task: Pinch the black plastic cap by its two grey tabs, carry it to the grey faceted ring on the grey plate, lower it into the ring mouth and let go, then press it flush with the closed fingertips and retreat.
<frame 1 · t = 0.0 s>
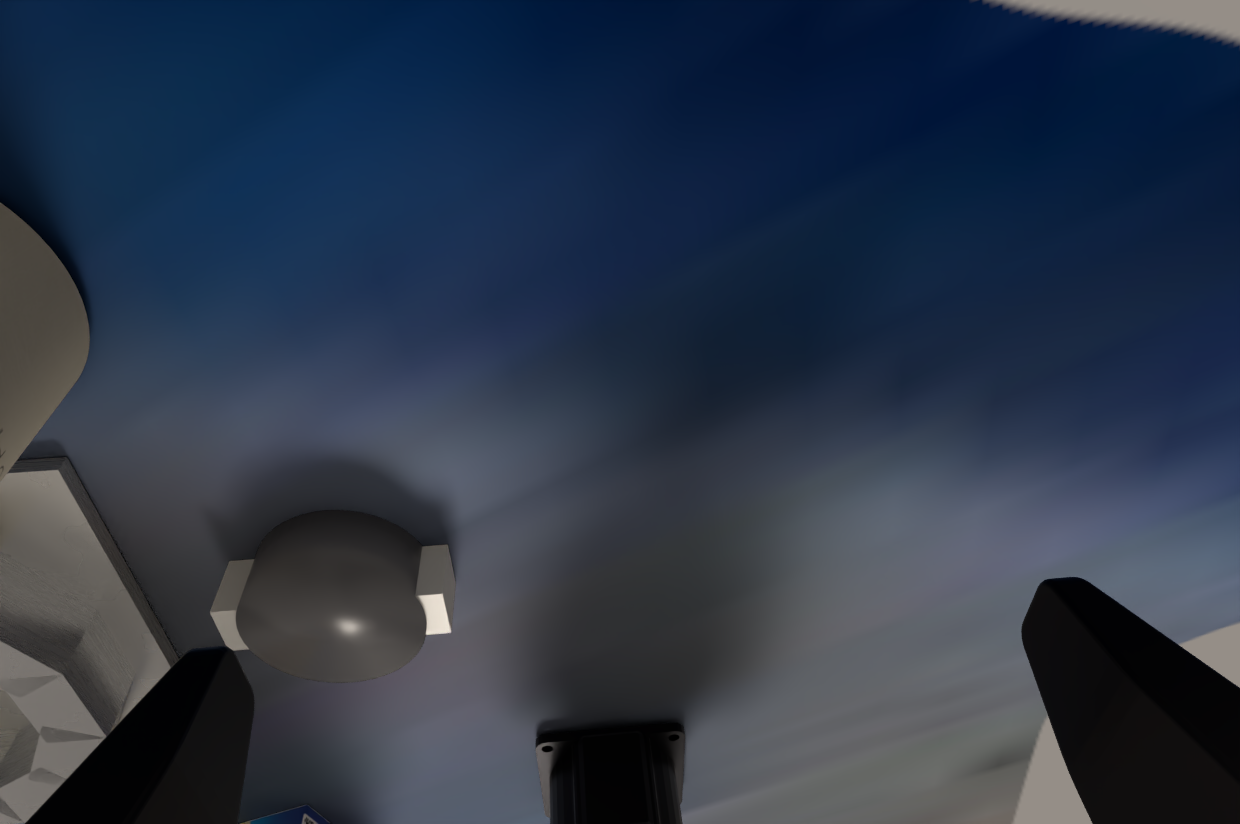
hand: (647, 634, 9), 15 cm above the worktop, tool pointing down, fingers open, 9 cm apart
cap: (346, 568, 29), on the worktop
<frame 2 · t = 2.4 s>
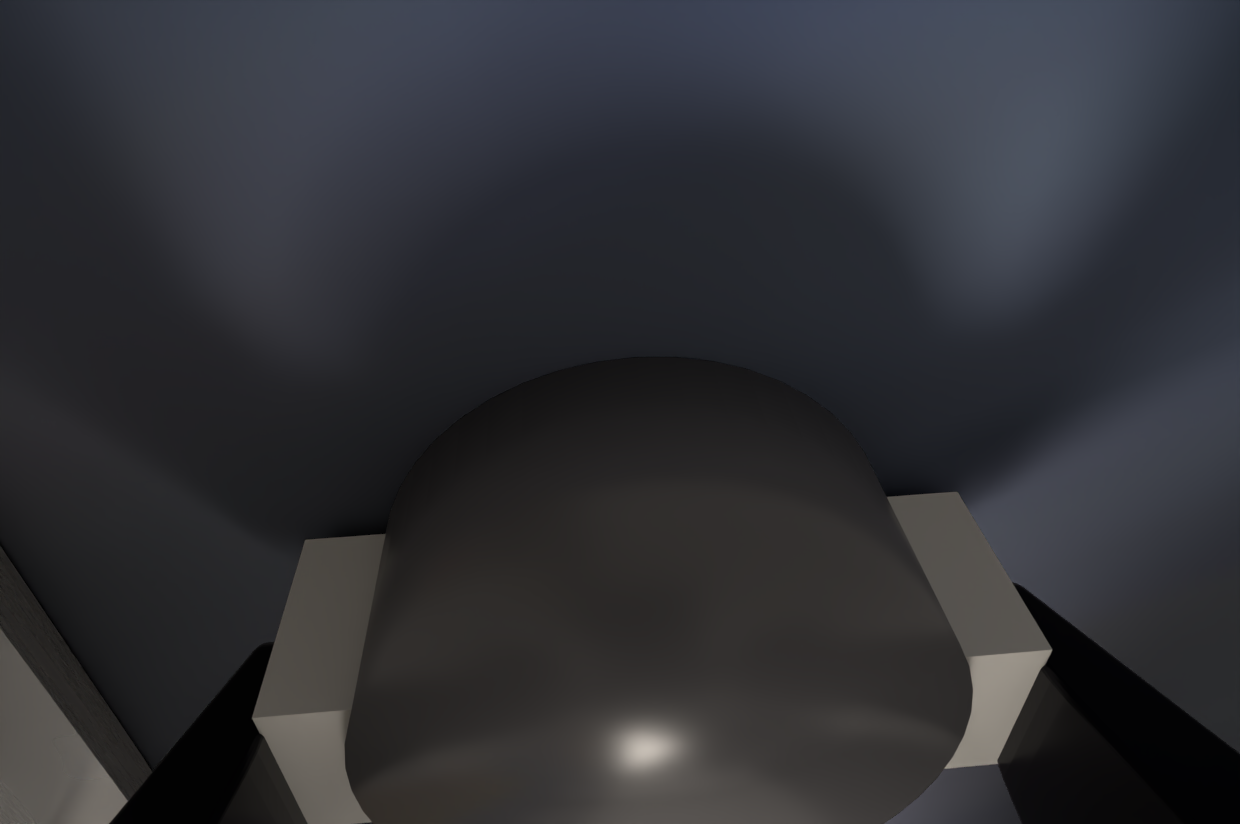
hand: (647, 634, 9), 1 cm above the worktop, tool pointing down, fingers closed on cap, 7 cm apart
cap: (637, 562, 10), on the worktop, touching gripper
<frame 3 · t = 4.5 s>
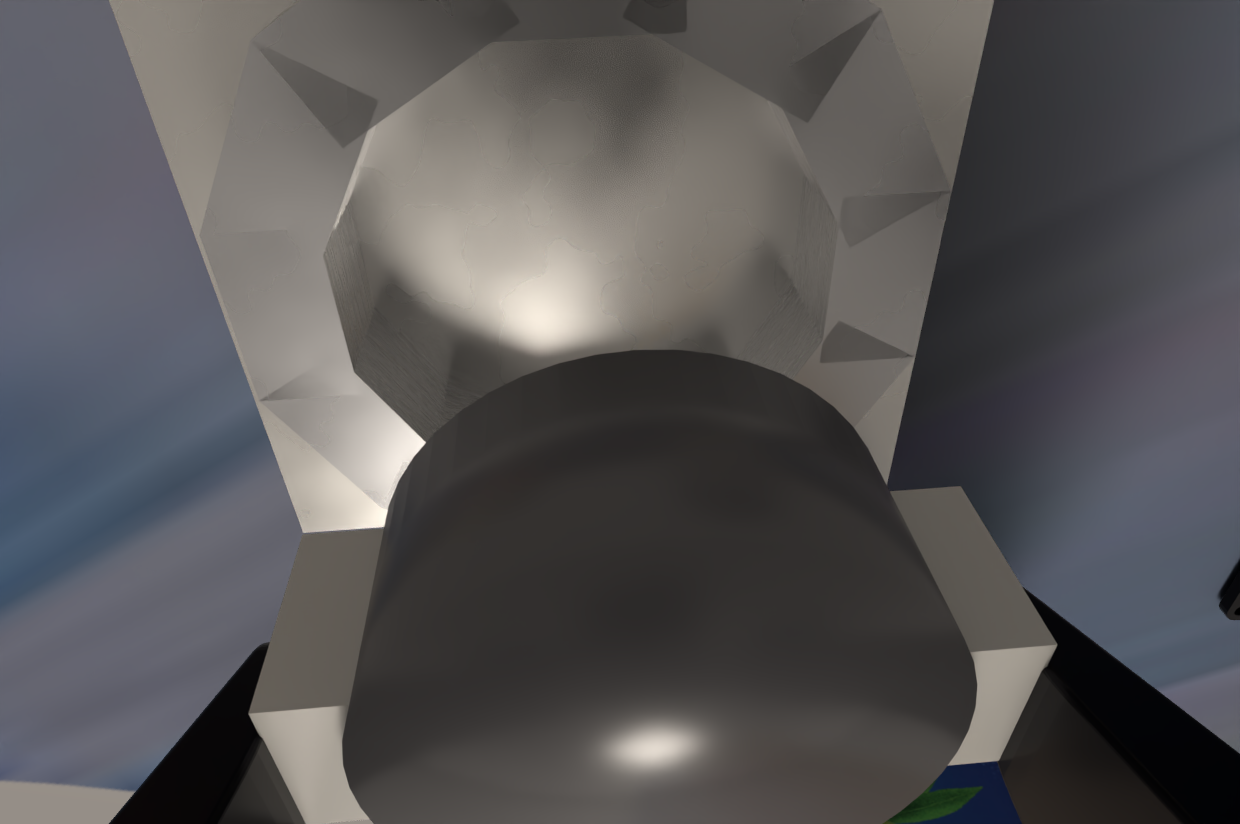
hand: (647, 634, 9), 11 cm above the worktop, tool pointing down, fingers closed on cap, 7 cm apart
grey faceted ring: (581, 230, 18), on the worktop
cap: (637, 558, 10), point 10 cm above the worktop, touching gripper
beverage box: (777, 685, 30), on the worktop
when the fingers open (3 cm above the worktop, at t = 6.9 s): cap drops 2 cm, resting on grey faceted ring.
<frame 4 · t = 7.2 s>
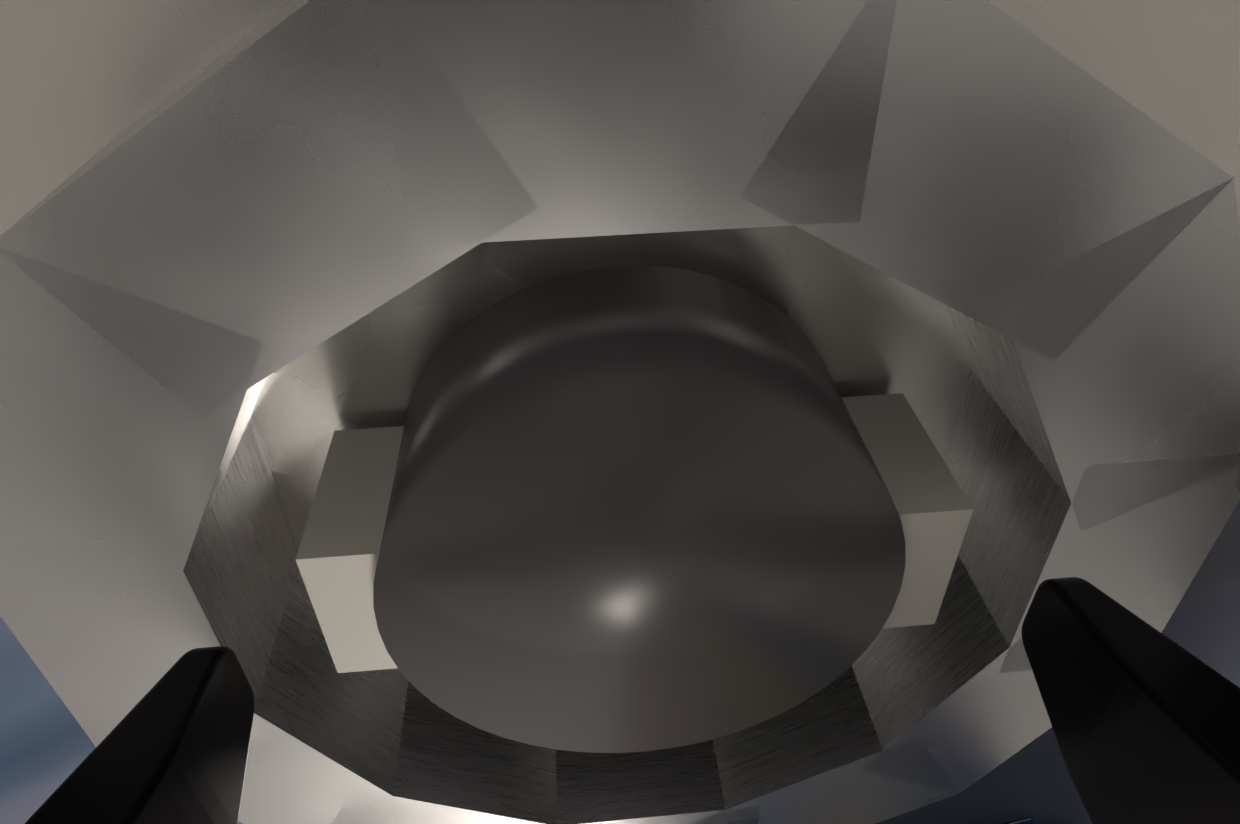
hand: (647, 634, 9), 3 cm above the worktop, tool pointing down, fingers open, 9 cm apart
grey faceted ring: (617, 438, 12), on the worktop
cap: (623, 460, 12), point 1 cm above the worktop, touching grey faceted ring
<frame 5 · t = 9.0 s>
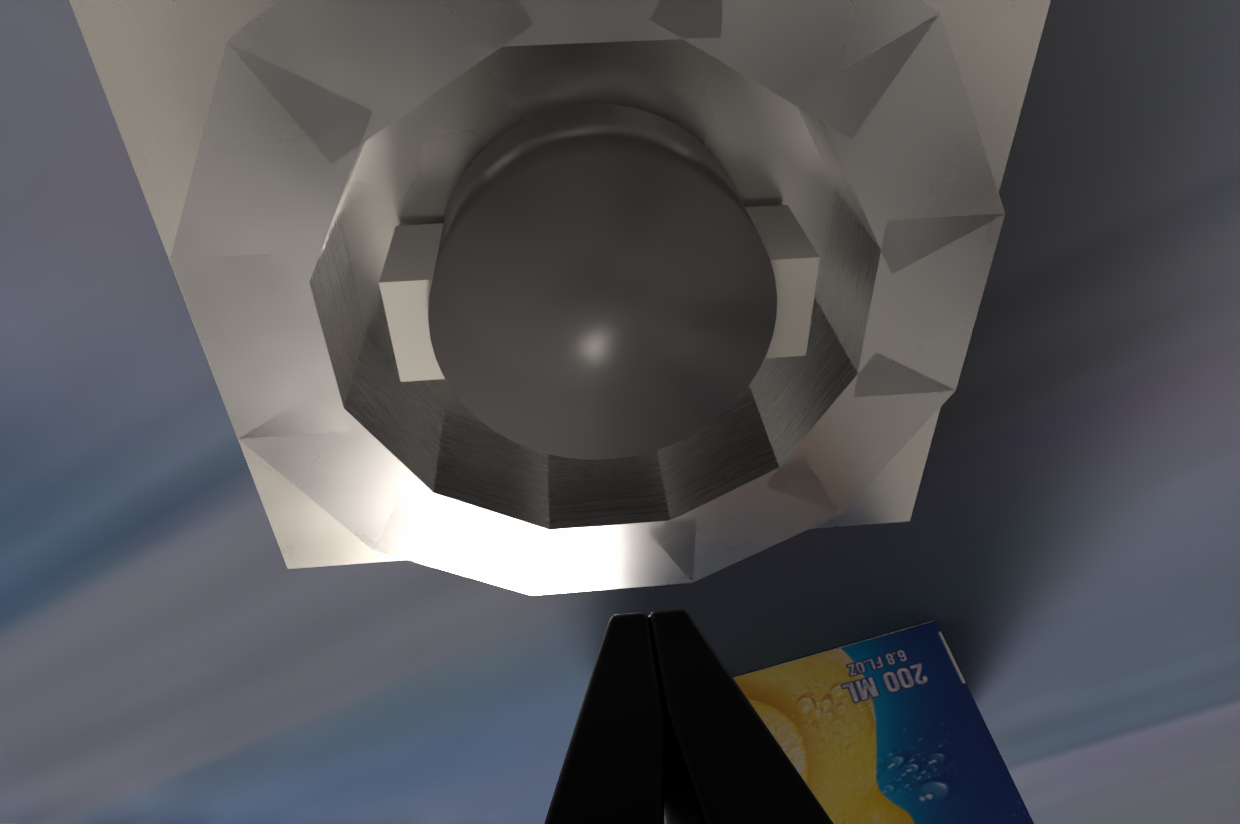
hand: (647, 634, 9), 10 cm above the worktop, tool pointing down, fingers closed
grey faceted ring: (592, 249, 17), on the worktop
cap: (595, 258, 16), point 1 cm above the worktop, touching grey faceted ring
beverage box: (787, 717, 28), on the worktop
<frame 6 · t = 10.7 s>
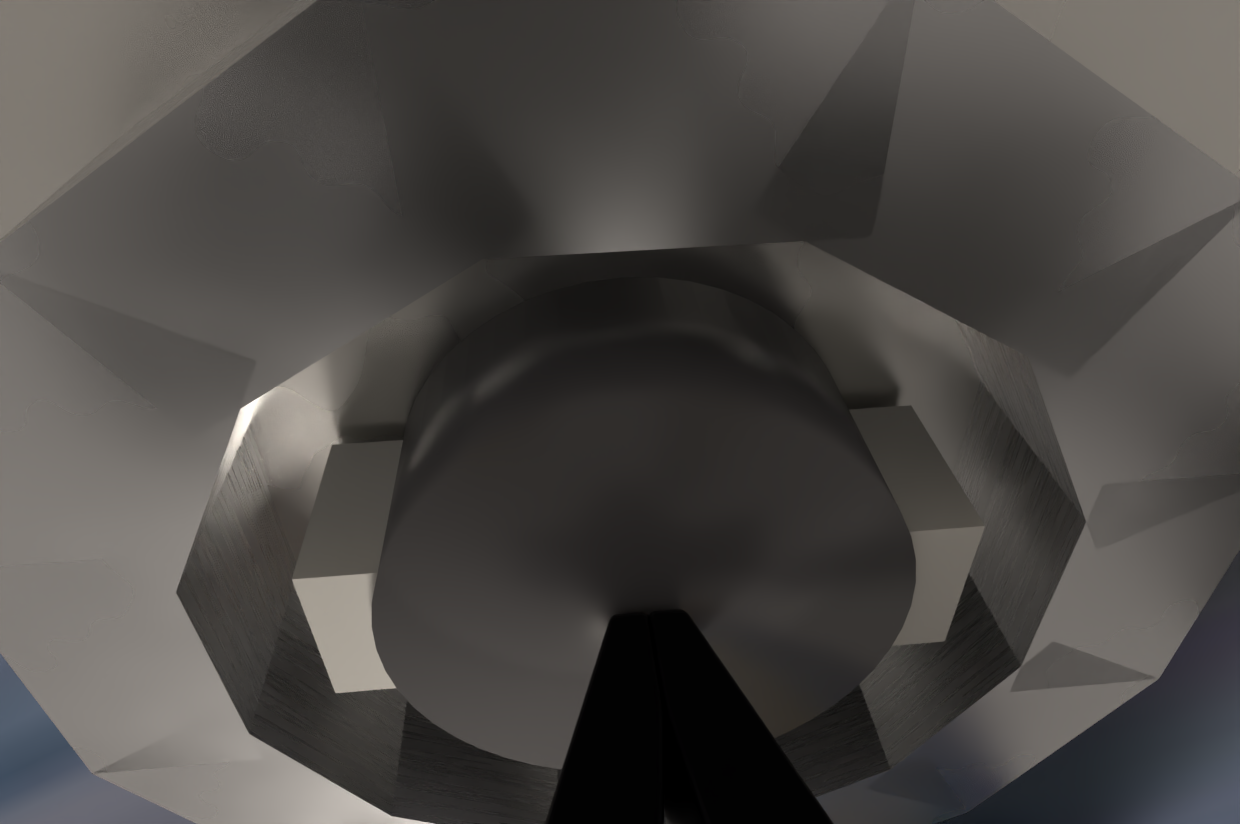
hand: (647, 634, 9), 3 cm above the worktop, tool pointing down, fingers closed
grey faceted ring: (620, 450, 12), on the worktop
cap: (627, 473, 11), point 1 cm above the worktop, touching grey faceted ring
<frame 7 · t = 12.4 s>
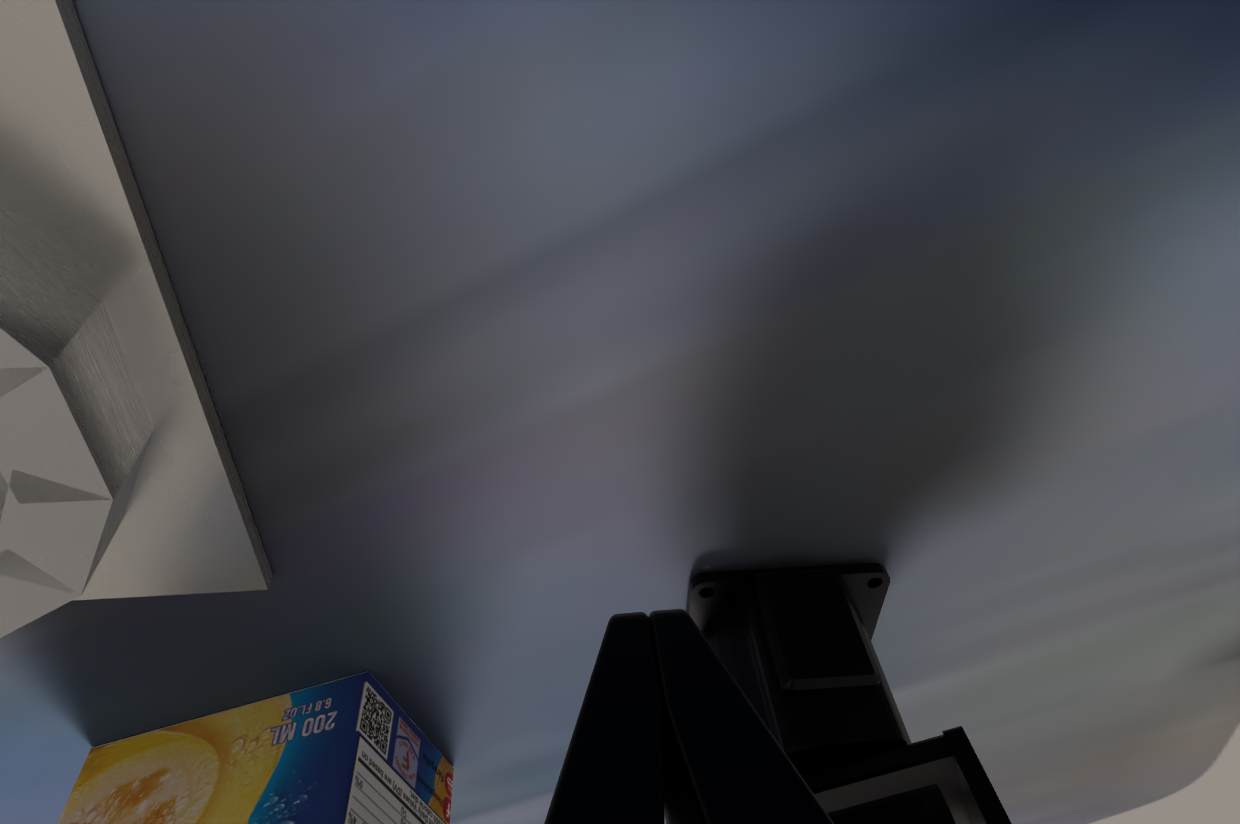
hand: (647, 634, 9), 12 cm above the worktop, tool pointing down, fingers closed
beverage box: (282, 752, 31), on the worktop
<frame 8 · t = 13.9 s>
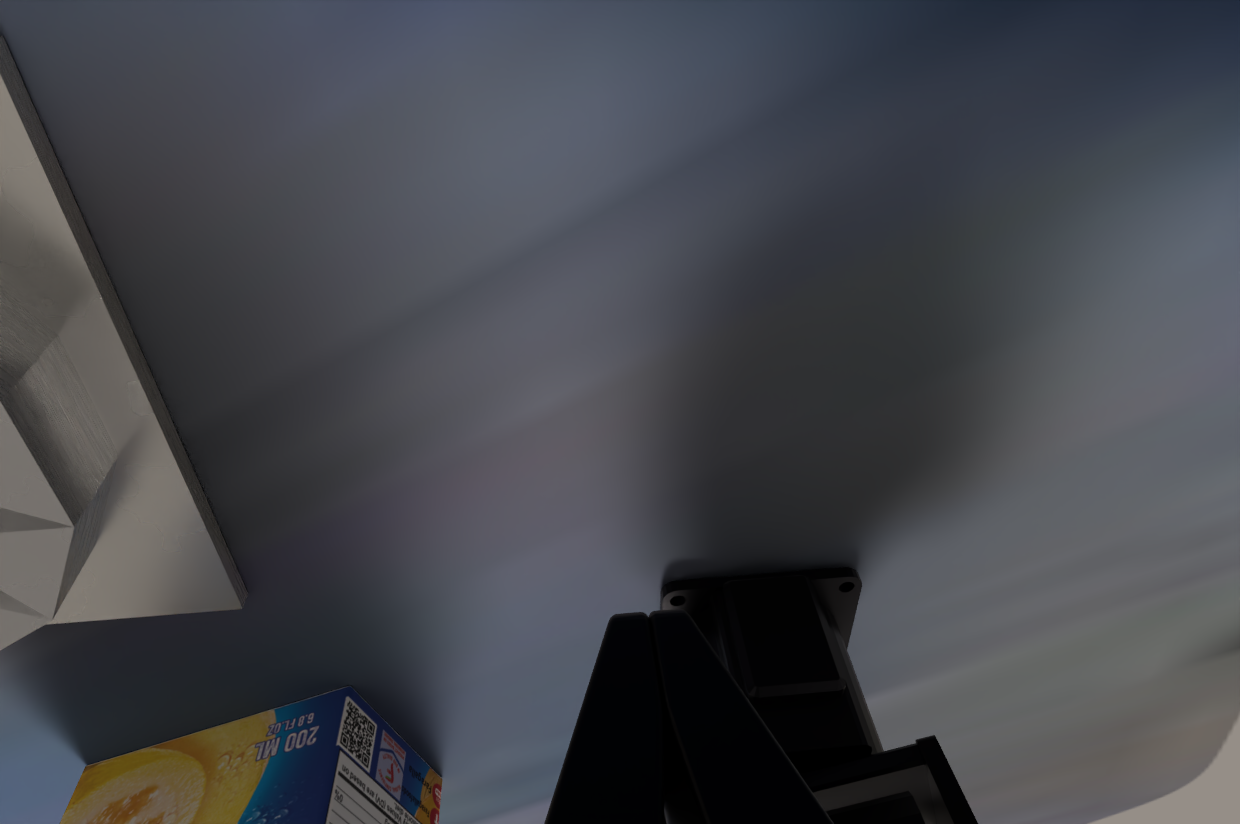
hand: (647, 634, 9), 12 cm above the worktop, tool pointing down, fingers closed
beverage box: (272, 767, 32), on the worktop
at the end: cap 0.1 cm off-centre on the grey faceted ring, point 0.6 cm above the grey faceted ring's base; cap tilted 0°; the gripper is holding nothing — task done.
